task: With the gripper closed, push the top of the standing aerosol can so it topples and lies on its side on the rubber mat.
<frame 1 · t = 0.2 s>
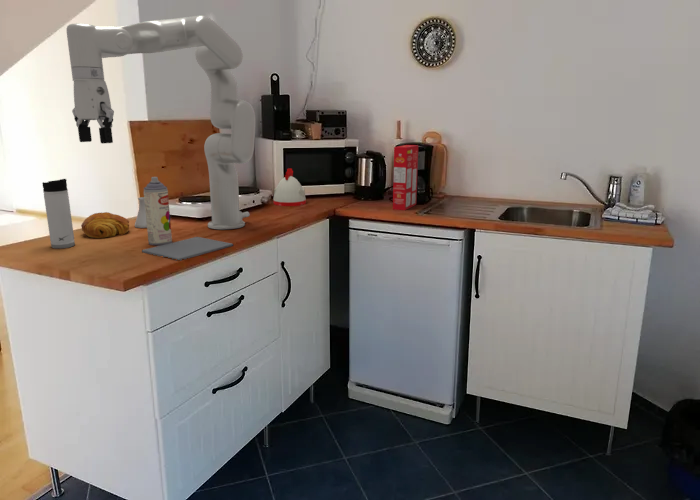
hand: (96, 142, 143), 31 cm above the table, fingers open, 9 cm apart
mat: (188, 248, 156), on the table
kitchen timer: (289, 203, 231), on the table
croissant: (107, 234, 176), on the table
travel mug: (63, 246, 159), on the table
aerosol can: (160, 243, 163), on the table
food packaging: (404, 207, 224), on the table
flask: (145, 226, 186), on the table
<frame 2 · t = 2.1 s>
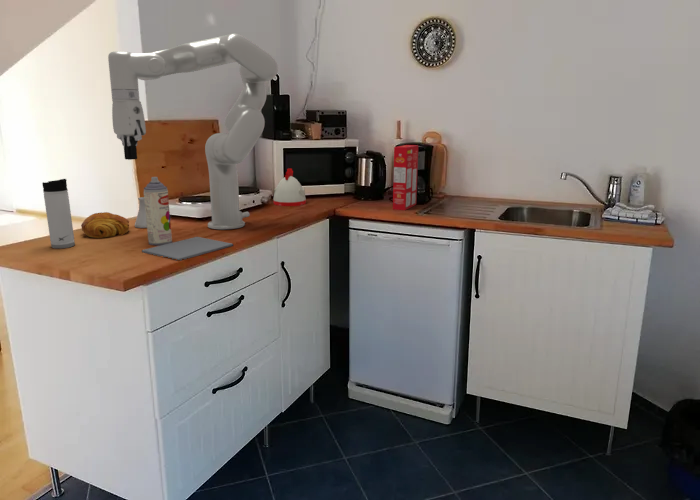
hand: (131, 159, 162), 25 cm above the table, fingers closed
nothing on the table moved.
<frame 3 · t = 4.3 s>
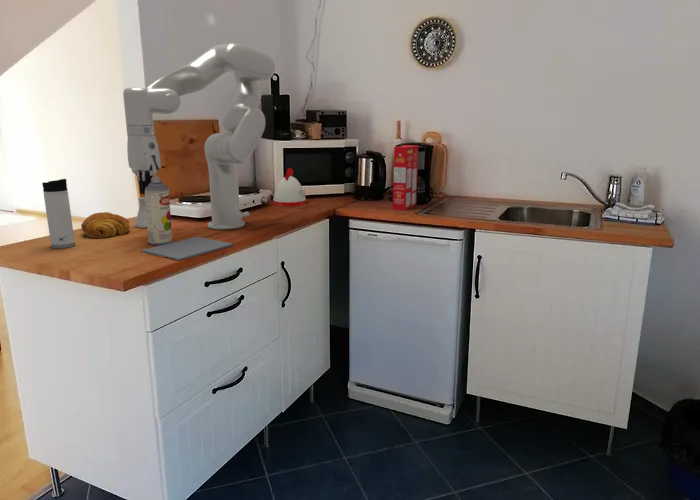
hand: (146, 193, 162), 15 cm above the table, fingers closed
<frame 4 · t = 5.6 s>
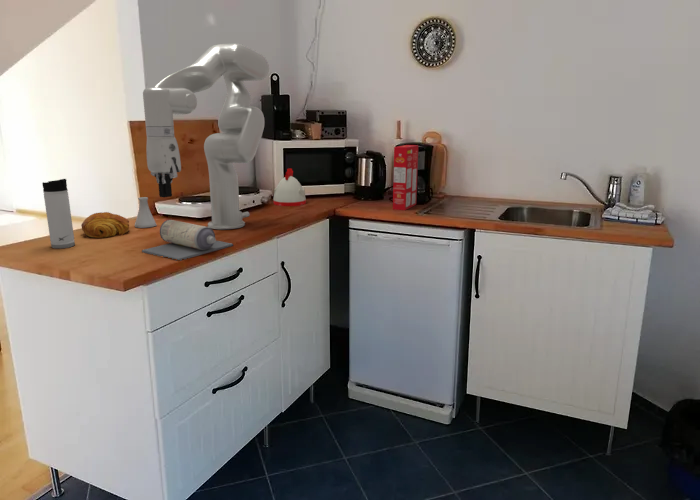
hand: (165, 196, 157), 15 cm above the table, fingers closed
aerosol can: (169, 230, 161), point 4 cm above the table, touching mat
everything else where it was.
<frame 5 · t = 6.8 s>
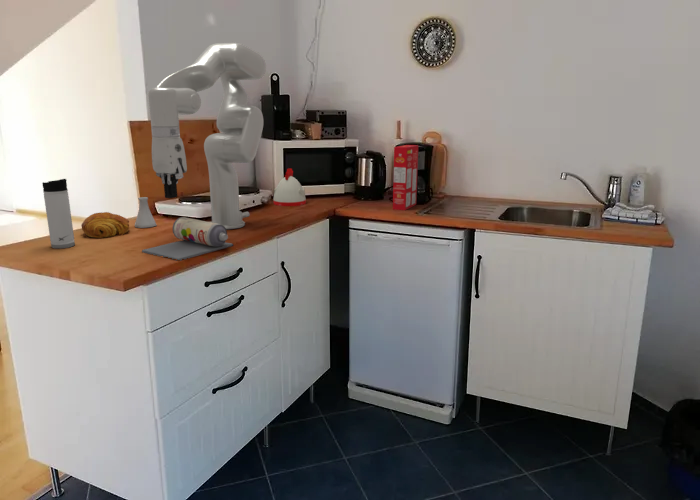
hand: (171, 197, 156), 15 cm above the table, fingers closed
aerosol can: (181, 228, 165), point 4 cm above the table, touching mat
everything else where it was.
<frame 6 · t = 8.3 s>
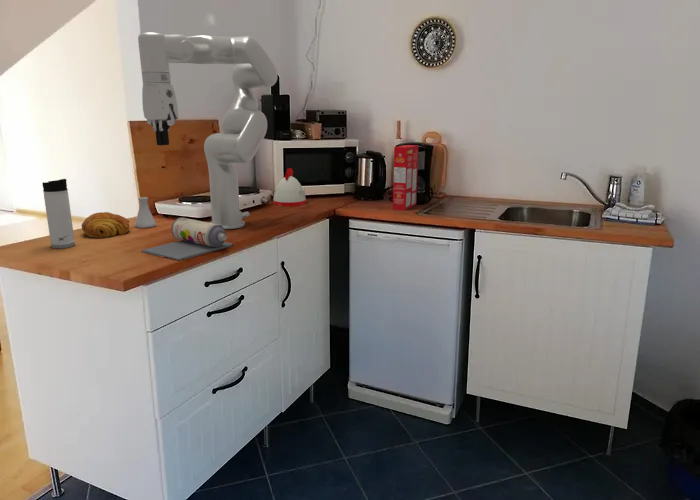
hand: (163, 144, 157), 29 cm above the table, fingers closed
nothing on the table moved.
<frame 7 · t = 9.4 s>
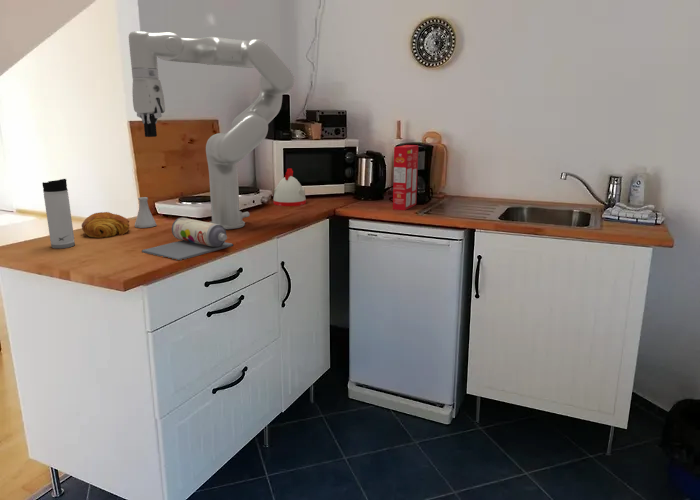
hand: (150, 136, 168), 31 cm above the table, fingers closed
nothing on the table moved.
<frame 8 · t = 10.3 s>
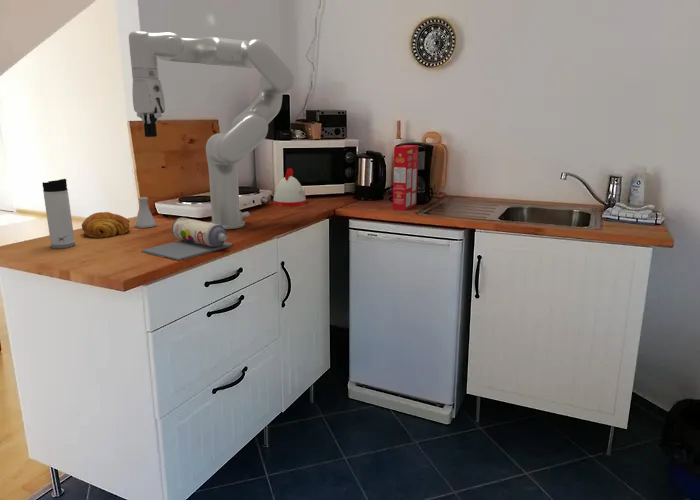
hand: (150, 136, 168), 31 cm above the table, fingers closed
nothing on the table moved.
at the end: aerosol can tilted 90°; aerosol can touching mat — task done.
